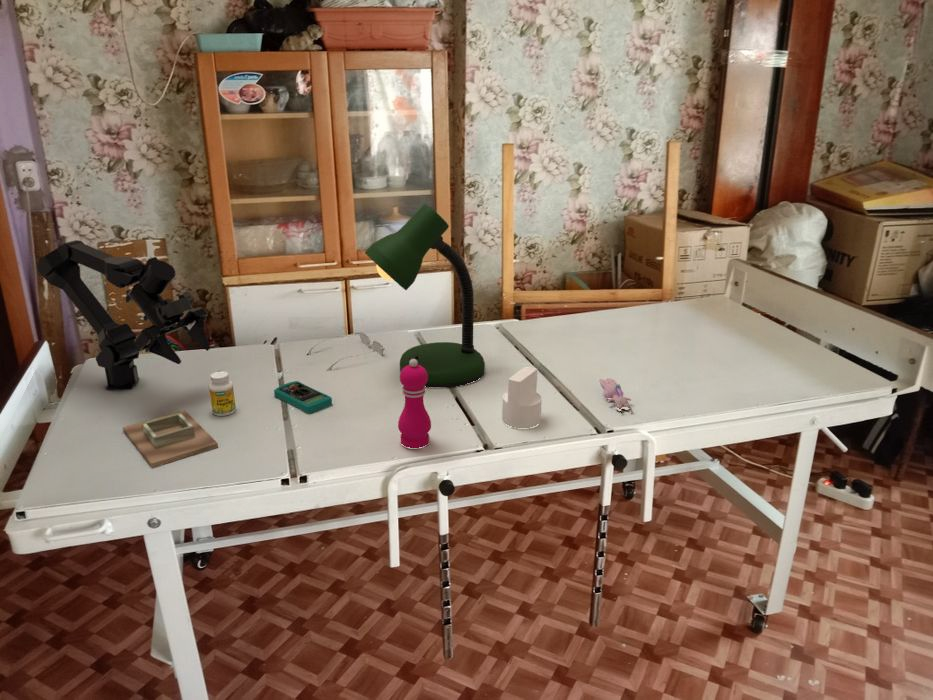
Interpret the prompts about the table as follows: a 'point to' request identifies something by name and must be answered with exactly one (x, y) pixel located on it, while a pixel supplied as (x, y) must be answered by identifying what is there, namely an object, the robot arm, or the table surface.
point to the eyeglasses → (364, 339)
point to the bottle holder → (169, 438)
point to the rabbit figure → (614, 393)
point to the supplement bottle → (222, 394)
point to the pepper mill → (414, 407)
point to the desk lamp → (402, 264)
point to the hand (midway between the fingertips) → (194, 356)
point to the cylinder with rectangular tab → (522, 400)
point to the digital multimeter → (303, 397)
